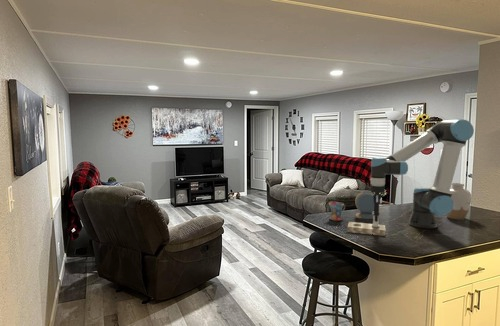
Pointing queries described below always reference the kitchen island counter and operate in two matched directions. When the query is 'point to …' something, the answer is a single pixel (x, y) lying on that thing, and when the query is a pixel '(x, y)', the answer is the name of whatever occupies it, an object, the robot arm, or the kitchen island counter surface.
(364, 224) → the hole block
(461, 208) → the vase
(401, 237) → the kitchen island counter surface
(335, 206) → the mug
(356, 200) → the alarm clock
